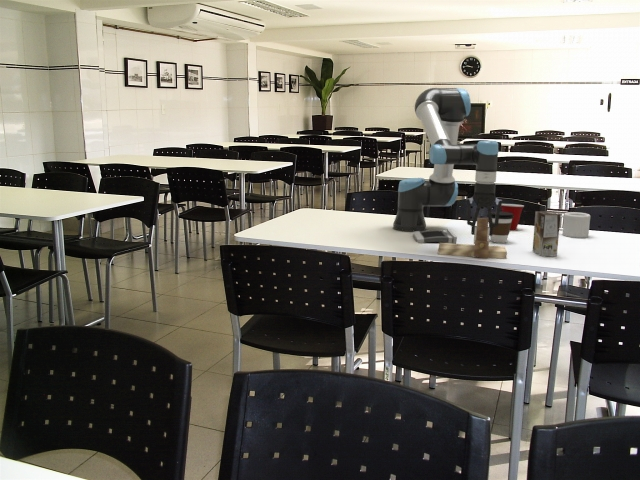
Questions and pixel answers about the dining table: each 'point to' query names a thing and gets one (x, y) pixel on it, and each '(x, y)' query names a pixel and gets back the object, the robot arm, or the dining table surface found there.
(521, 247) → the dining table surface
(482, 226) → the gauge
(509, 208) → the plastic cup
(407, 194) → the robot arm
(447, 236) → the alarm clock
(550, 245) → the coffee box
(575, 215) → the mug
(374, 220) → the dining table surface
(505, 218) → the coffee cup
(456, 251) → the board
